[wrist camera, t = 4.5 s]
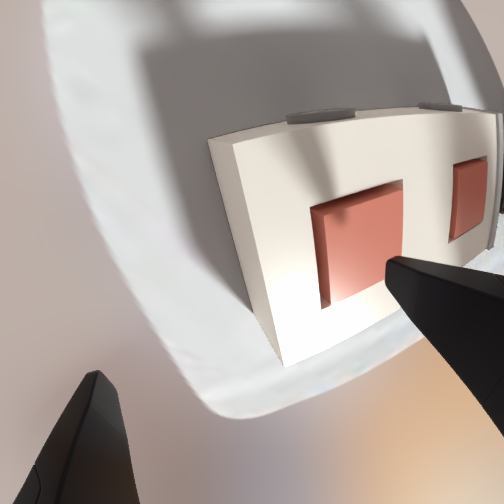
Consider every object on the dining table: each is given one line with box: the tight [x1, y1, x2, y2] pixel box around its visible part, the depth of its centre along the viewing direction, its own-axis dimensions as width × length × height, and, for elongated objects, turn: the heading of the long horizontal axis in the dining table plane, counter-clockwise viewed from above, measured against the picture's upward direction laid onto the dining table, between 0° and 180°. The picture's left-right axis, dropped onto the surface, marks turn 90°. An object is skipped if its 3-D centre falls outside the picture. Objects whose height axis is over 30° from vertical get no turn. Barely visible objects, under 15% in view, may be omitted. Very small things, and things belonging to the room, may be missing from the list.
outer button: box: [310, 184, 403, 305], centre depth 10 cm, size 4×4×2 cm
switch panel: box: [207, 103, 504, 368], centre depth 12 cm, size 17×9×4 cm, turn 101°
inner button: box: [449, 158, 488, 239], centre depth 12 cm, size 4×4×2 cm
